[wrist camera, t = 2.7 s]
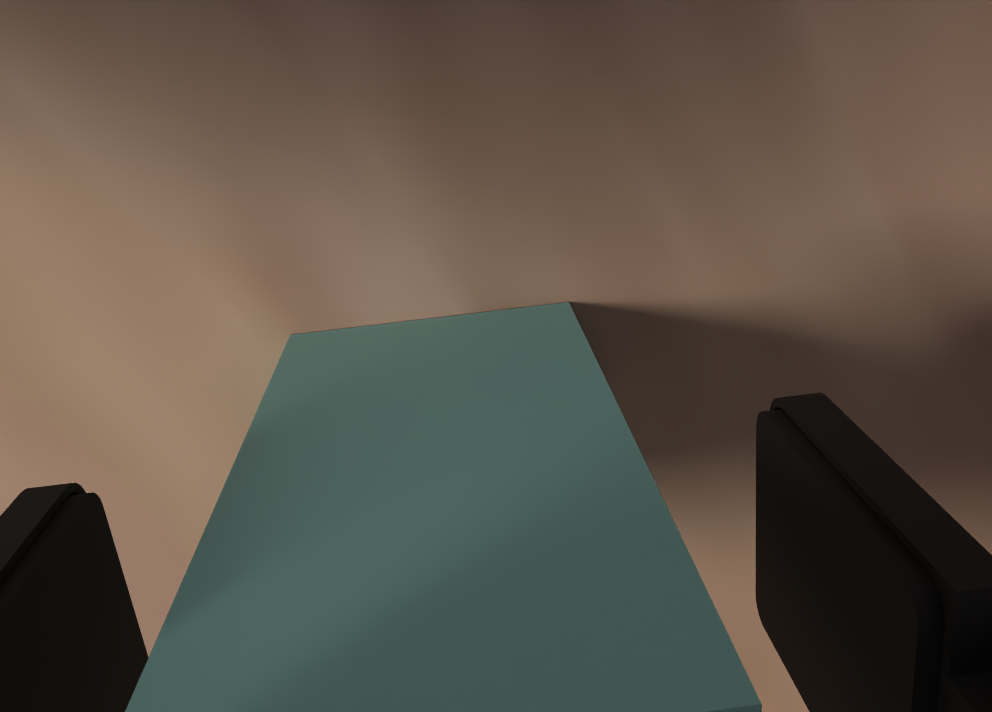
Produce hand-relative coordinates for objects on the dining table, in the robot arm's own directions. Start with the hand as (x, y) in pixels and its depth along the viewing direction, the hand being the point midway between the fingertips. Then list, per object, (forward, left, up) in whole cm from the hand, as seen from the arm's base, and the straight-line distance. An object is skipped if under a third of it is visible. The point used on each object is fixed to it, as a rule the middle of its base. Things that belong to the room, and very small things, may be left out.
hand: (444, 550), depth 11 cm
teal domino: (0, 0, -6) cm, 6 cm away
